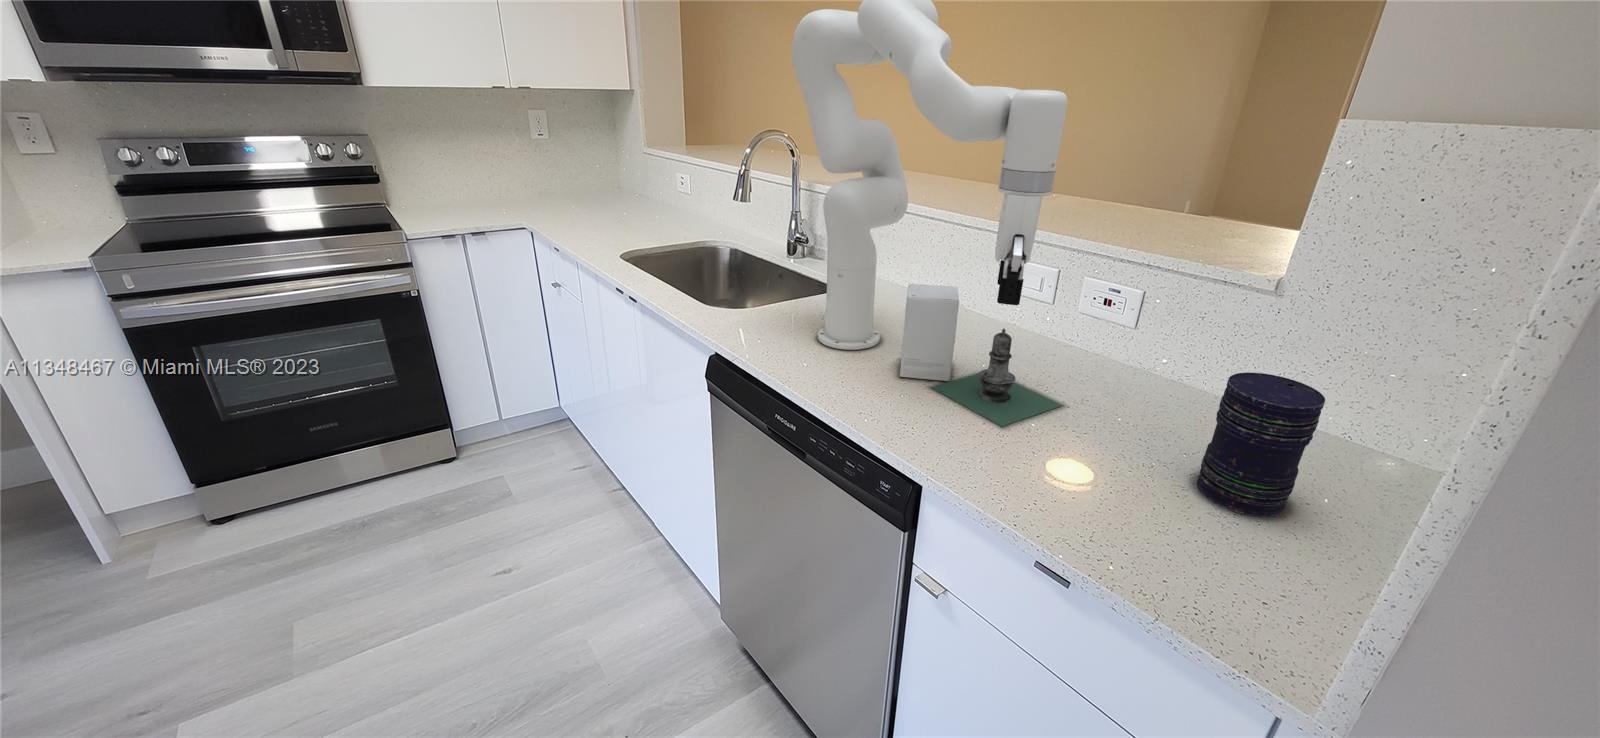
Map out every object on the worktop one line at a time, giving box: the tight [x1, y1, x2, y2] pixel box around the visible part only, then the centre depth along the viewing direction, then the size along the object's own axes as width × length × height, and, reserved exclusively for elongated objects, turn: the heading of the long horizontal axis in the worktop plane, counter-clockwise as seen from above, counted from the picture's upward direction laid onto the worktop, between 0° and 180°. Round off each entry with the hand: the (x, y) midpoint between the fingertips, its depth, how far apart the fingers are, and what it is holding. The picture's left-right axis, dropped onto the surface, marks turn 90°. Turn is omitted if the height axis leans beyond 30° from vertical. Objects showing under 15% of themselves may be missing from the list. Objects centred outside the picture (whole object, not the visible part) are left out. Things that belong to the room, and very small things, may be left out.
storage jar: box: [1196, 372, 1326, 518], centre depth 80 cm, size 10×10×15 cm
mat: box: [930, 373, 1063, 428], centre depth 108 cm, size 16×14×1 cm
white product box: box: [899, 283, 960, 382], centre depth 115 cm, size 9×9×15 cm
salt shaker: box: [978, 327, 1017, 403], centre depth 106 cm, size 6×6×12 cm
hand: (1007, 294), depth 101 cm, fingers open, 9 cm apart
